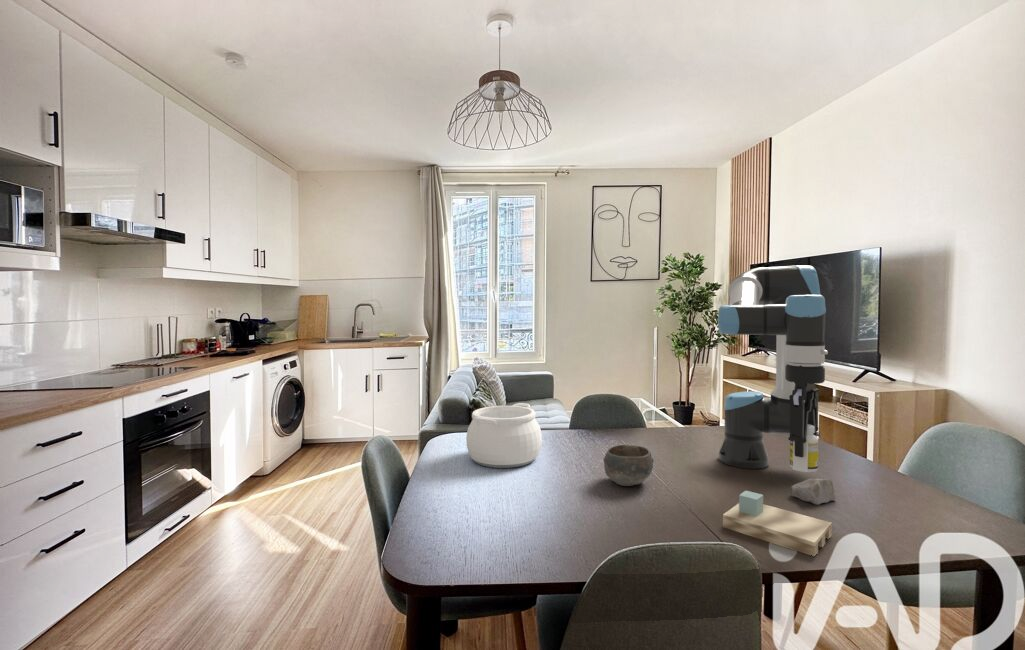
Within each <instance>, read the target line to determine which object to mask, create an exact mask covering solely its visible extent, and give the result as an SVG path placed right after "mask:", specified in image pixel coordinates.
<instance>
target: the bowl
mask: <svg viewBox="0 0 1025 650" xmlns="http://www.w3.org/2000/svg"><path fill="white" fill-rule="evenodd" d="M652 456H653V455H652V453H651V451H650V450H649V449H648V448H647V447H645V446H640V445H629V444H619V445H615V446H611V447H610V448H609V449H608V450H607V451H606V453H605V456H604V458H603V463H604V465H603V468H604V472H605V474H606V476H607V478H609V479H610V480H611V481H612V482H614V483H615V484H617V485H618V486H619V485H620V486H623V487H632V486H636V485H640V484H642V483H643V482H644V481H646V480H647V479H648V478H649V477H650V476H651V474H652V472H653V469H654V460H655V459H654V458H653V457H652Z"/></svg>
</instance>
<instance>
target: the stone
mask: <svg viewBox="0 0 1025 650" xmlns="http://www.w3.org/2000/svg"><path fill="white" fill-rule="evenodd" d="M791 493H792V497H795V498H798V499H799V500H801V501H804V502H807V503H811V504H813V505H817V506H819V505H820V504H823V503H825V504H826V503H829V502H831V501H833V502H834V501H836V500H837V496H836V495H835V490H834V483H833V480H832V479H824V478H811V477H810V478H808V479H806V480H804V481H800V482H797V483H794V484H793V485H791Z"/></svg>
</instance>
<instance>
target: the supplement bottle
mask: <svg viewBox="0 0 1025 650" xmlns="http://www.w3.org/2000/svg"><path fill="white" fill-rule="evenodd" d="M814 431H815V427H814V426H813V425H810V424H807V437H806V440H807V441H806V442H808V472H807V473H812V472H813V473H814V472H817V471H818V469H819V439H818V436H815V435H813V433H814ZM789 466H790V468H792V469H793V441H790V440H789Z"/></svg>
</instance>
